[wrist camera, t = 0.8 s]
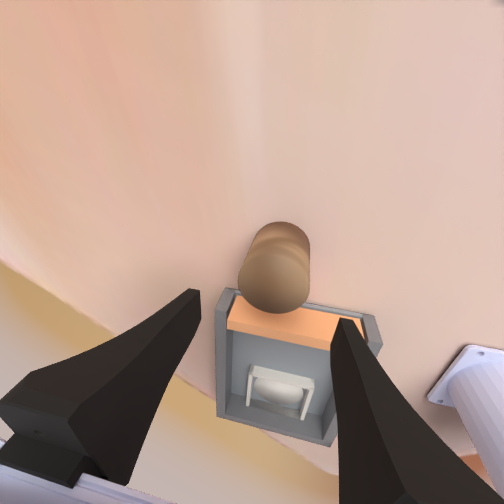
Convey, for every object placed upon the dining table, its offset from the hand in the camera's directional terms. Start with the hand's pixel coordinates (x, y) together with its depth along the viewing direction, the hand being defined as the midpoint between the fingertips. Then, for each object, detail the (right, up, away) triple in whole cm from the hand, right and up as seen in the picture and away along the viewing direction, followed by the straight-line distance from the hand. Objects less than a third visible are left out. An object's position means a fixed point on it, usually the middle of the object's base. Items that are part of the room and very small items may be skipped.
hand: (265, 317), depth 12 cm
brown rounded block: (+2, +4, +7) cm, 8 cm away
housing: (+3, -8, +13) cm, 16 cm away
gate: (+3, -2, +8) cm, 9 cm away
